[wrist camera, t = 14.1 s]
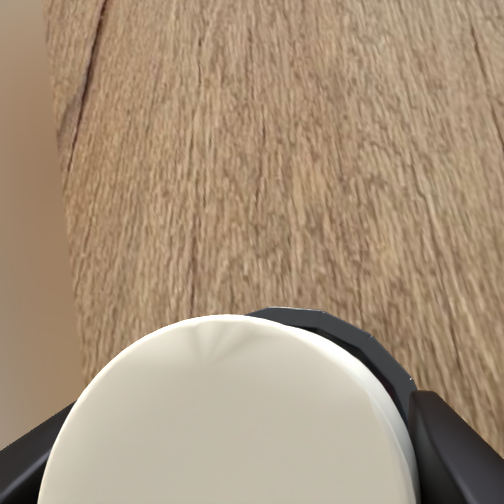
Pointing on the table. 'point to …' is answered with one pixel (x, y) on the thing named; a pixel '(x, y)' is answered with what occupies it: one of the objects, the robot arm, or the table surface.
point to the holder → (350, 348)
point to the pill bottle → (233, 424)
